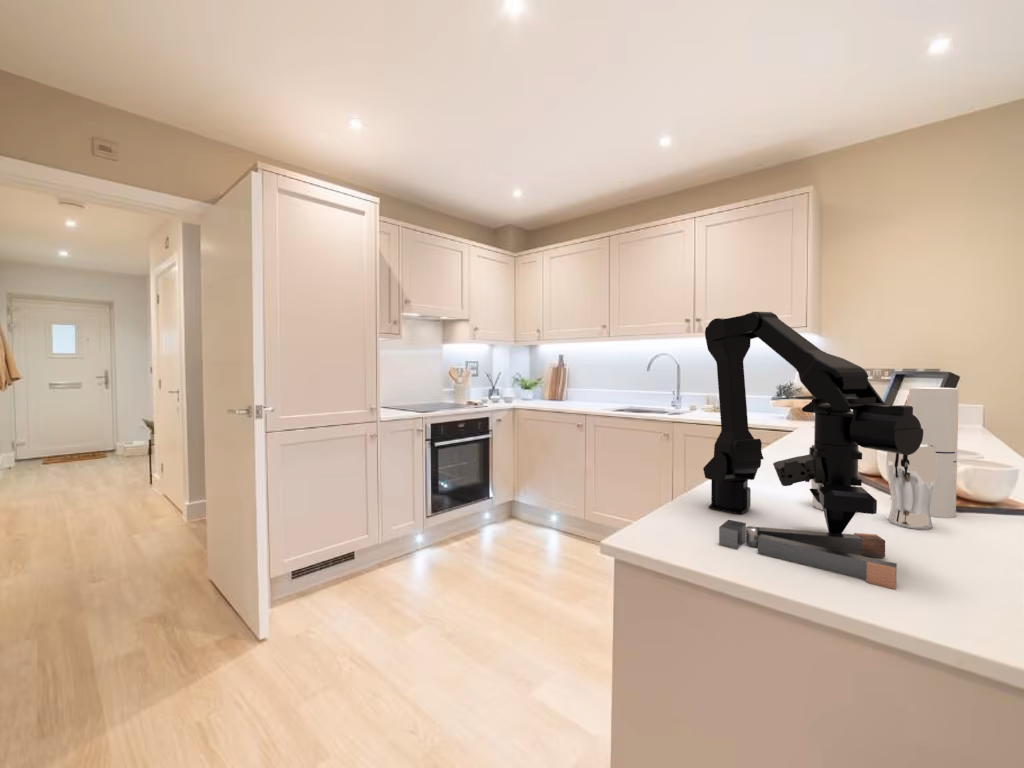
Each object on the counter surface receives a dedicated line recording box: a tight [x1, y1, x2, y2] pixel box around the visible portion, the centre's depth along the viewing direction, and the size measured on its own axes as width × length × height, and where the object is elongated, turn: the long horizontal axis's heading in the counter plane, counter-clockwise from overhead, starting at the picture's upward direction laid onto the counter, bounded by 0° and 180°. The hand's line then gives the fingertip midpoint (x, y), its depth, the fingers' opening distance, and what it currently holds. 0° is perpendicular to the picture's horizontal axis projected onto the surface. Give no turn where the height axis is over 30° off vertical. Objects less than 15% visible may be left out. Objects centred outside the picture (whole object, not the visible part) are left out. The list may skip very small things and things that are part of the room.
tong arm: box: [745, 525, 886, 558], centre depth 71 cm, size 19×3×3 cm, turn 74°
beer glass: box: [885, 443, 937, 531], centre depth 82 cm, size 7×7×15 cm
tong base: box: [718, 519, 898, 590], centre depth 68 cm, size 22×5×3 cm, turn 47°
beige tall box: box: [908, 386, 960, 519], centre depth 89 cm, size 7×7×25 cm
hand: (834, 538), depth 72 cm, fingers closed
